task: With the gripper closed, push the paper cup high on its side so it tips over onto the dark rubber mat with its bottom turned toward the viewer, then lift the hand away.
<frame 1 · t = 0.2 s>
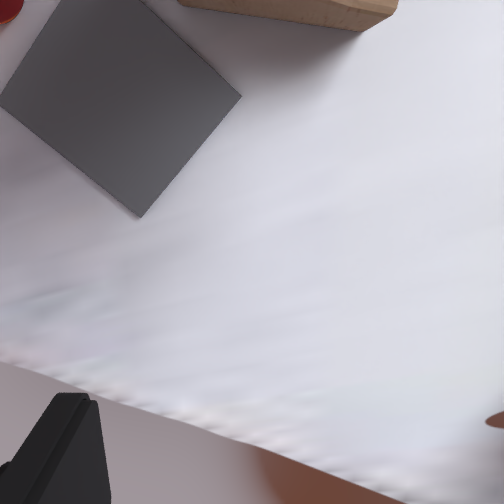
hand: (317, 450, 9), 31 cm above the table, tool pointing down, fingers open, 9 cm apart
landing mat: (119, 99, 36), on the table
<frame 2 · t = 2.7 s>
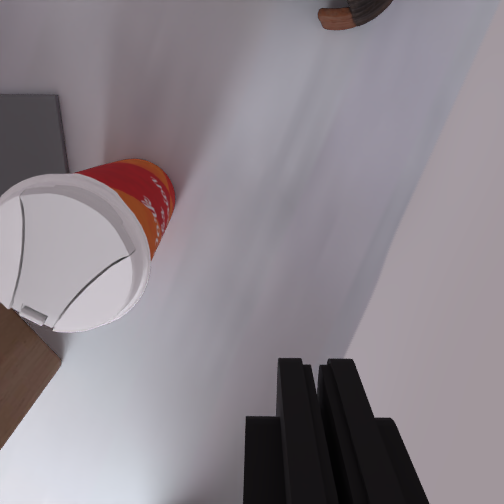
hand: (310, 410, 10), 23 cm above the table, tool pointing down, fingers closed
paper cup: (139, 194, 32), on the table
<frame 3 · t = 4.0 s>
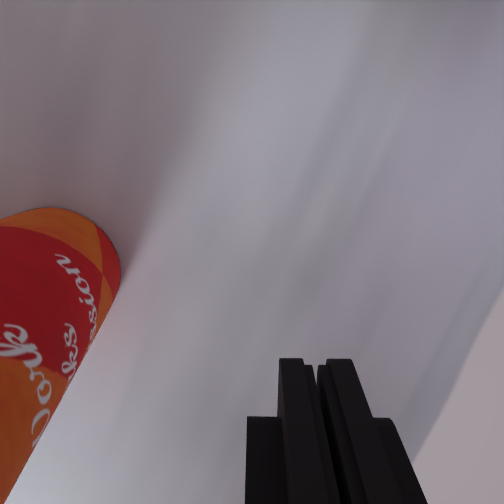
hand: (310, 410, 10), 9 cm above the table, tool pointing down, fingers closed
paper cup: (62, 264, 19), on the table
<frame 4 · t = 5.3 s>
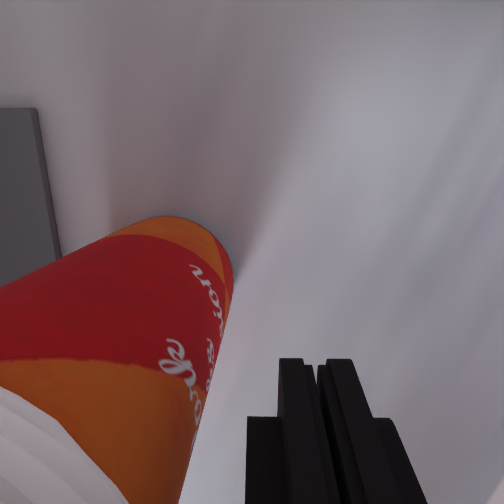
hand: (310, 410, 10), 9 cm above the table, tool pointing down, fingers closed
paper cup: (174, 273, 19), on the table
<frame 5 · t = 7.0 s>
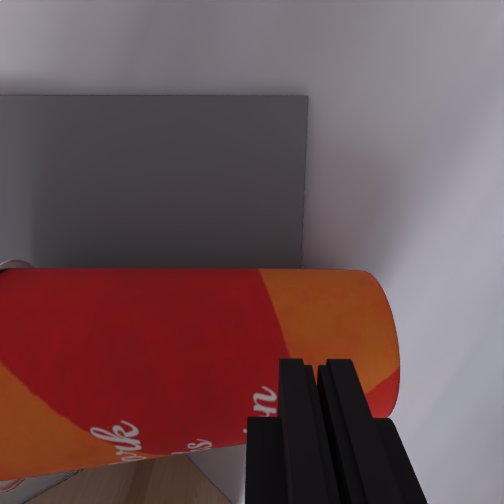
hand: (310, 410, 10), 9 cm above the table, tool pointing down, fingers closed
paper cup: (373, 342, 16), point 3 cm above the table, touching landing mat
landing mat: (128, 265, 19), on the table
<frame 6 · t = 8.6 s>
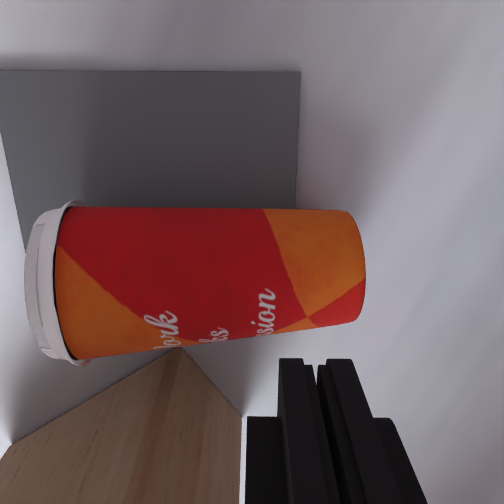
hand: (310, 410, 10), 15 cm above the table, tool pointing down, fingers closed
paper cup: (349, 266, 21), point 3 cm above the table, touching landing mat
decorative block: (125, 430, 30), on the table
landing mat: (157, 209, 24), on the table
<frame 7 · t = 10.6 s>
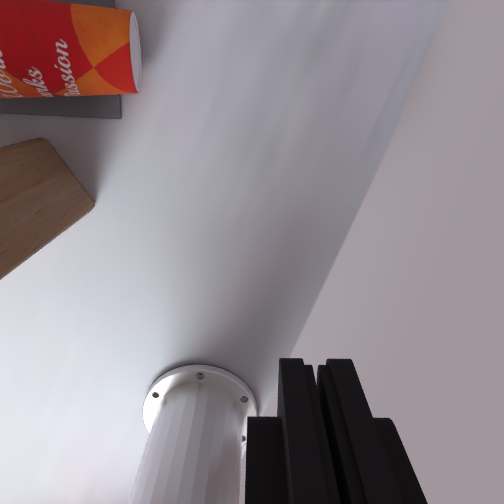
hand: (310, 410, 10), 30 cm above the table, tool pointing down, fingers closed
paper cup: (138, 53, 32), point 3 cm above the table, touching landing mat
decorative block: (10, 212, 40), on the table
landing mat: (21, 22, 34), on the table
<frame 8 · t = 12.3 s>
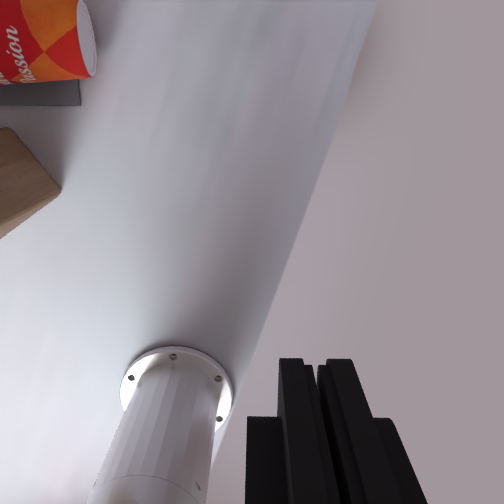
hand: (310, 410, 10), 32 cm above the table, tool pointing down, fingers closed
paper cup: (89, 38, 33), point 3 cm above the table, touching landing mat
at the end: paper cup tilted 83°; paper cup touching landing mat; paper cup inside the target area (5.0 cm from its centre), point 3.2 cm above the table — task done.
